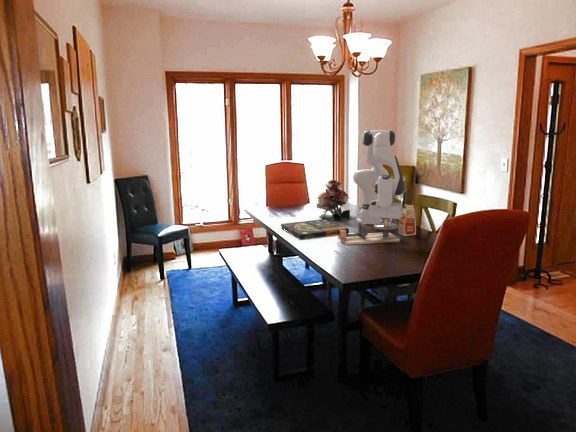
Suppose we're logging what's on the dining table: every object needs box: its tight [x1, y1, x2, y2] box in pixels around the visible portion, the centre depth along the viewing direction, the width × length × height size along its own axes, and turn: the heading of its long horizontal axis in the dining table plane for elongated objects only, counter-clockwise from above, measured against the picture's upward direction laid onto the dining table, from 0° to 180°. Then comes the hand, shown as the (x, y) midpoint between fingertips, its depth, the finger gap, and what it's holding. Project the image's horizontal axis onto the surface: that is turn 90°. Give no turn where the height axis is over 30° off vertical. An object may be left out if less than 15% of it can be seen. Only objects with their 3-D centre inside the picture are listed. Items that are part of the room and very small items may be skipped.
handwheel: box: [373, 218, 399, 231], centre depth 270 cm, size 15×15×6 cm
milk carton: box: [397, 203, 417, 237], centre depth 282 cm, size 9×9×20 cm
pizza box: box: [280, 218, 350, 240], centre depth 299 cm, size 35×35×4 cm
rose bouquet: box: [316, 179, 351, 223], centre depth 333 cm, size 26×29×30 cm
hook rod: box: [338, 230, 368, 240], centre depth 270 cm, size 4×17×5 cm, turn 98°
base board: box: [337, 221, 401, 246], centre depth 271 cm, size 18×34×11 cm, turn 98°
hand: (384, 224), depth 265 cm, fingers open, 4 cm apart
